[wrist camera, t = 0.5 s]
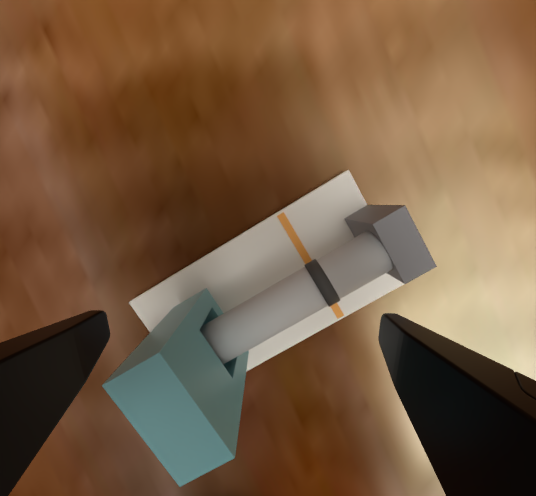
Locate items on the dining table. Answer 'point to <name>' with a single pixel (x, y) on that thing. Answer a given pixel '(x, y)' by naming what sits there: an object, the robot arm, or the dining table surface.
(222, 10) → the dining table surface
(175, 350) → the sleeve collar
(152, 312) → the pipe rig
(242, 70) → the dining table surface
